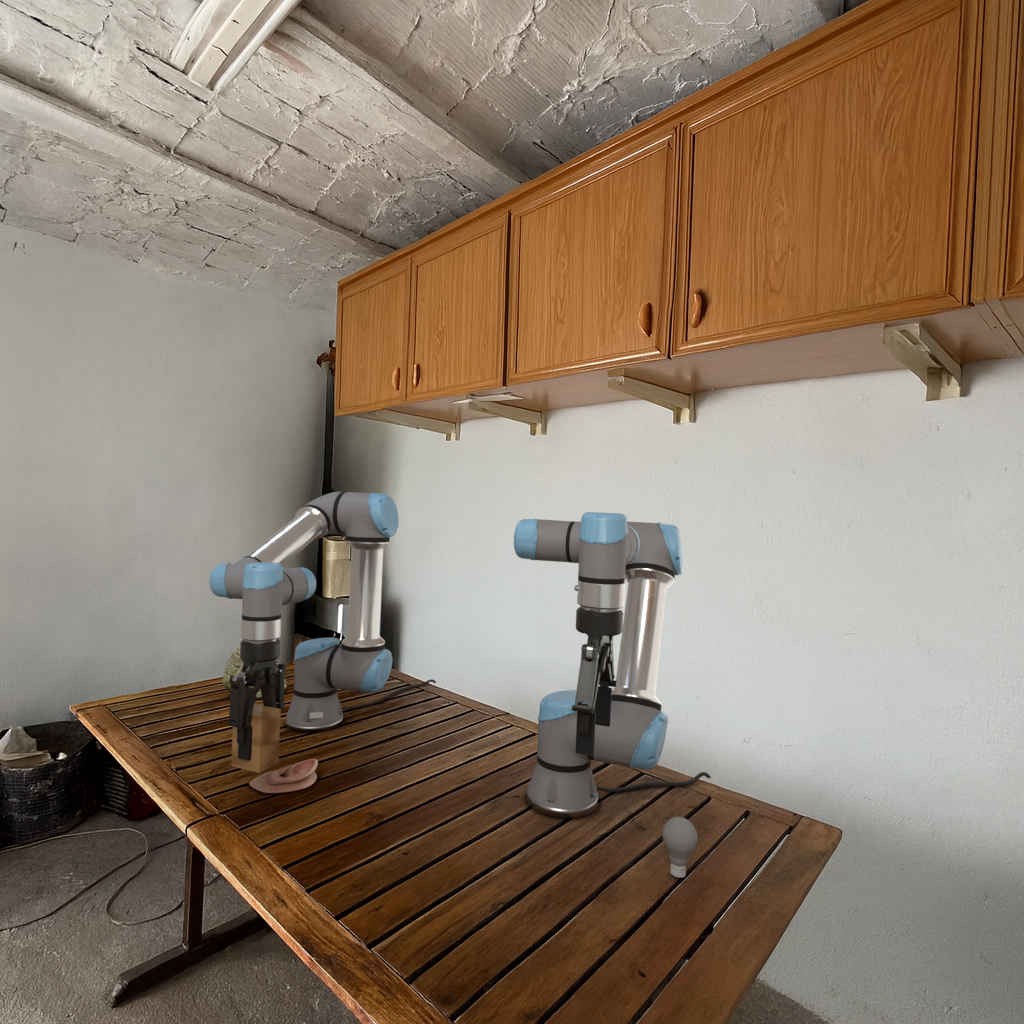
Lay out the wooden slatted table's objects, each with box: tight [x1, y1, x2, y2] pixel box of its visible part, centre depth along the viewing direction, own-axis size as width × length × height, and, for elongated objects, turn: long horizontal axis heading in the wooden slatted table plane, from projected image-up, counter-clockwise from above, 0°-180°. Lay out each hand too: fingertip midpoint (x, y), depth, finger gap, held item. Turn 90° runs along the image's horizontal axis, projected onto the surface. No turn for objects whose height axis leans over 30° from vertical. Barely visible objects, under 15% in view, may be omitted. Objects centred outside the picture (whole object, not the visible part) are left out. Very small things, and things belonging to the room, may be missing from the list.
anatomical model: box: [248, 758, 319, 794], centre depth 139 cm, size 13×4×12 cm
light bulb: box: [661, 816, 699, 879], centre depth 110 cm, size 6×6×10 cm
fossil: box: [222, 646, 288, 698], centre depth 198 cm, size 9×18×15 cm, turn 132°
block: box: [230, 703, 282, 774], centre depth 129 cm, size 6×7×11 cm
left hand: (255, 752), depth 129 cm, fingers closed on block, 5 cm apart
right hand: (593, 738), depth 102 cm, fingers open, 13 cm apart
